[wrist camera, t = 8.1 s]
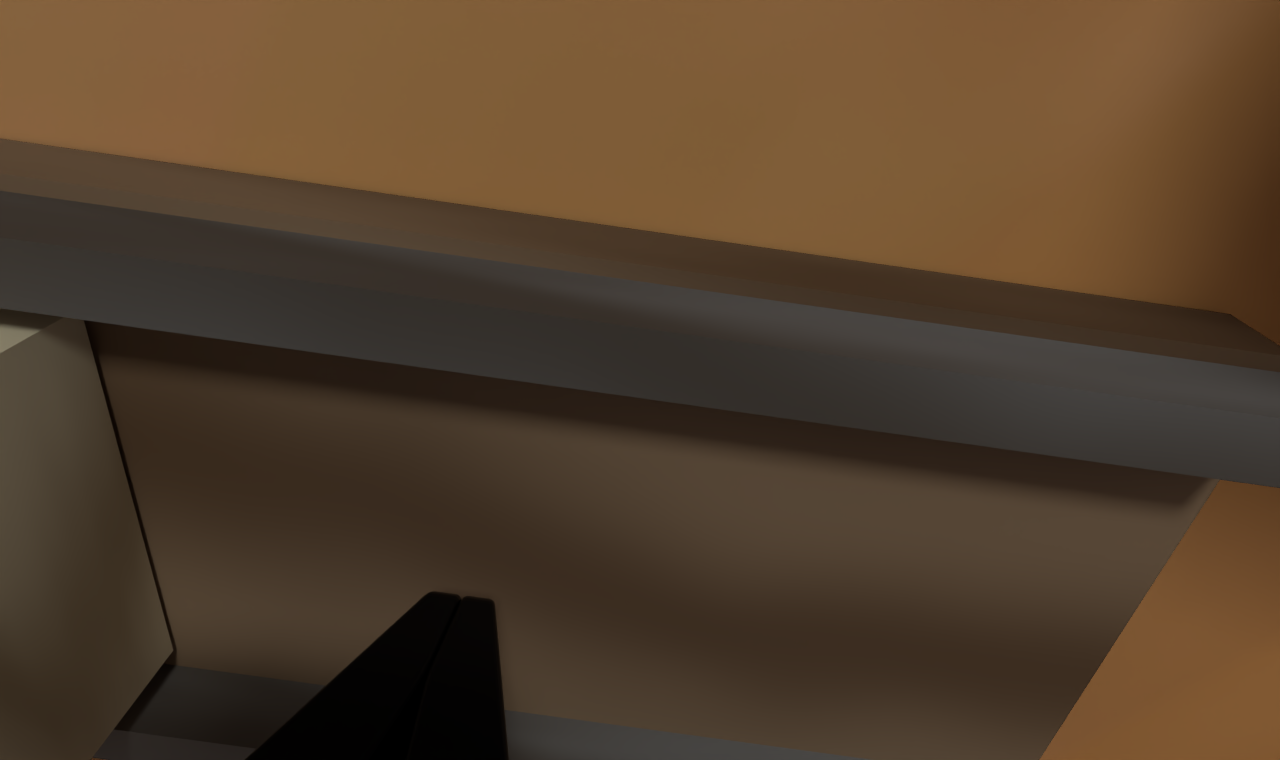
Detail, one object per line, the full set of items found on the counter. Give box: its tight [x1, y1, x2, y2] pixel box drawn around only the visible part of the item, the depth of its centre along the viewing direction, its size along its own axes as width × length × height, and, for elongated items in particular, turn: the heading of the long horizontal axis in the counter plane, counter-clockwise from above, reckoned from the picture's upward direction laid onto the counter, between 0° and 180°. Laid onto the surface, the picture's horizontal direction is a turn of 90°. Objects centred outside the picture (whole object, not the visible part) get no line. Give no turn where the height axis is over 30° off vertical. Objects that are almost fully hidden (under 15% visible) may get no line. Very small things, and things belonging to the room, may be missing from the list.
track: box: [0, 139, 1280, 760], centre depth 9 cm, size 9×24×6 cm, turn 83°
